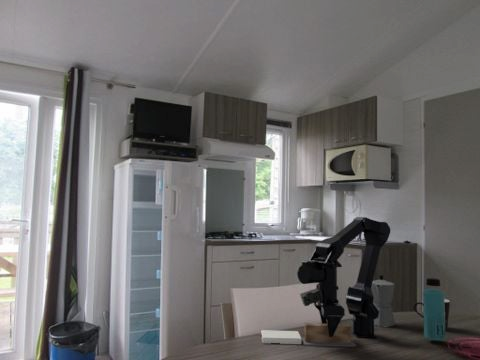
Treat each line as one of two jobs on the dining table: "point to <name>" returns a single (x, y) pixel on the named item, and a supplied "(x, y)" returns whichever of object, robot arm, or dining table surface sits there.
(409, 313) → the dining table surface
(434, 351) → the dining table surface
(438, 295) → the beverage bottle
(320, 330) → the tan wooden block
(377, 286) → the coffeepot
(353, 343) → the mat
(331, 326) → the robot arm
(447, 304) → the coffee mug
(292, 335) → the tile
